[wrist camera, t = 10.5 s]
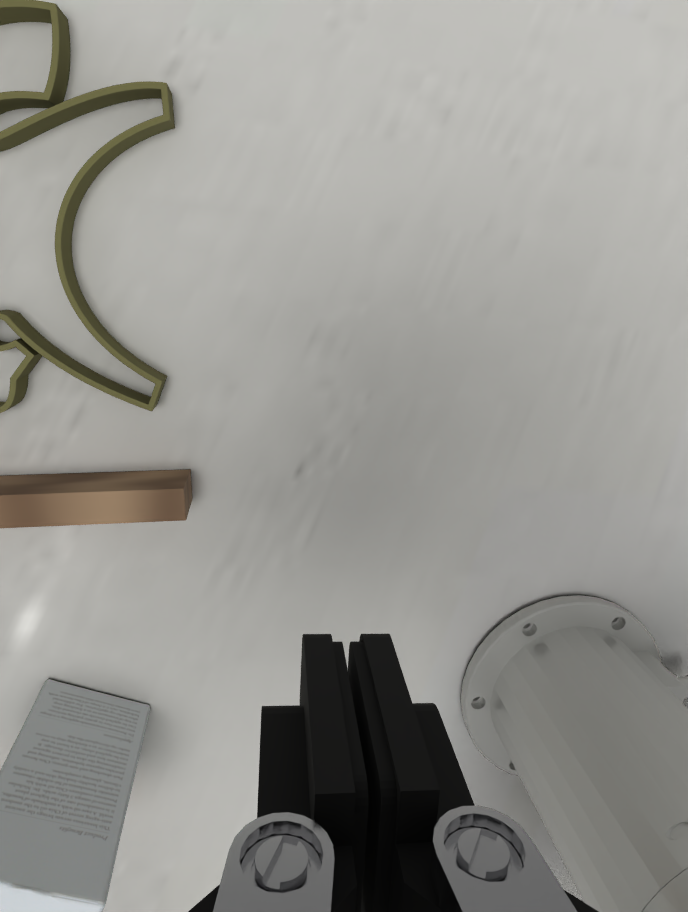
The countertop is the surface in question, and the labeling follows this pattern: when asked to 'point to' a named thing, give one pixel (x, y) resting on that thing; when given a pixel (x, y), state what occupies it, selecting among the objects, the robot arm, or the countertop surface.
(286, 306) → the countertop surface
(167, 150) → the countertop surface
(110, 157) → the cookie cutter
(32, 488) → the walnut fence
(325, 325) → the countertop surface
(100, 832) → the skincare box
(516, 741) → the robot arm
